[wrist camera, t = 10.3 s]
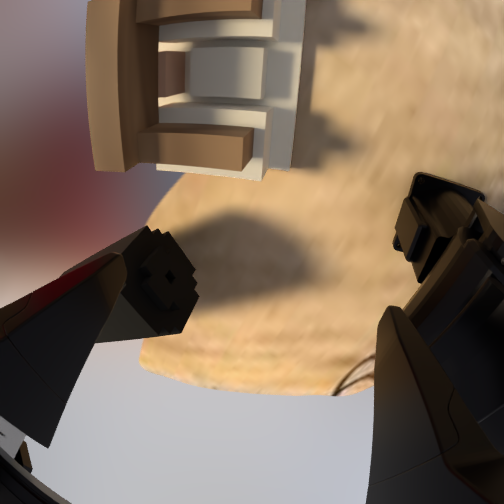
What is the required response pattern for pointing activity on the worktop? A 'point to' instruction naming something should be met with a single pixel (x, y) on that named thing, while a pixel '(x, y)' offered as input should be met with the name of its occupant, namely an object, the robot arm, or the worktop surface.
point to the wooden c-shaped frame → (236, 81)
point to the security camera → (149, 287)
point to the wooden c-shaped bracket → (151, 88)
